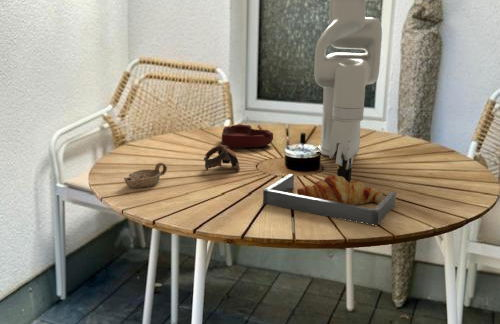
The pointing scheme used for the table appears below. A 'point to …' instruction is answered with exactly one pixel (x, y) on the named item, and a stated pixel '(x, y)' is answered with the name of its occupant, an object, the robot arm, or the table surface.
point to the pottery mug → (221, 157)
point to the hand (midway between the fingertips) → (343, 182)
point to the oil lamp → (145, 177)
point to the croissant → (341, 191)
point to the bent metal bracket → (324, 203)
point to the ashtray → (245, 137)
